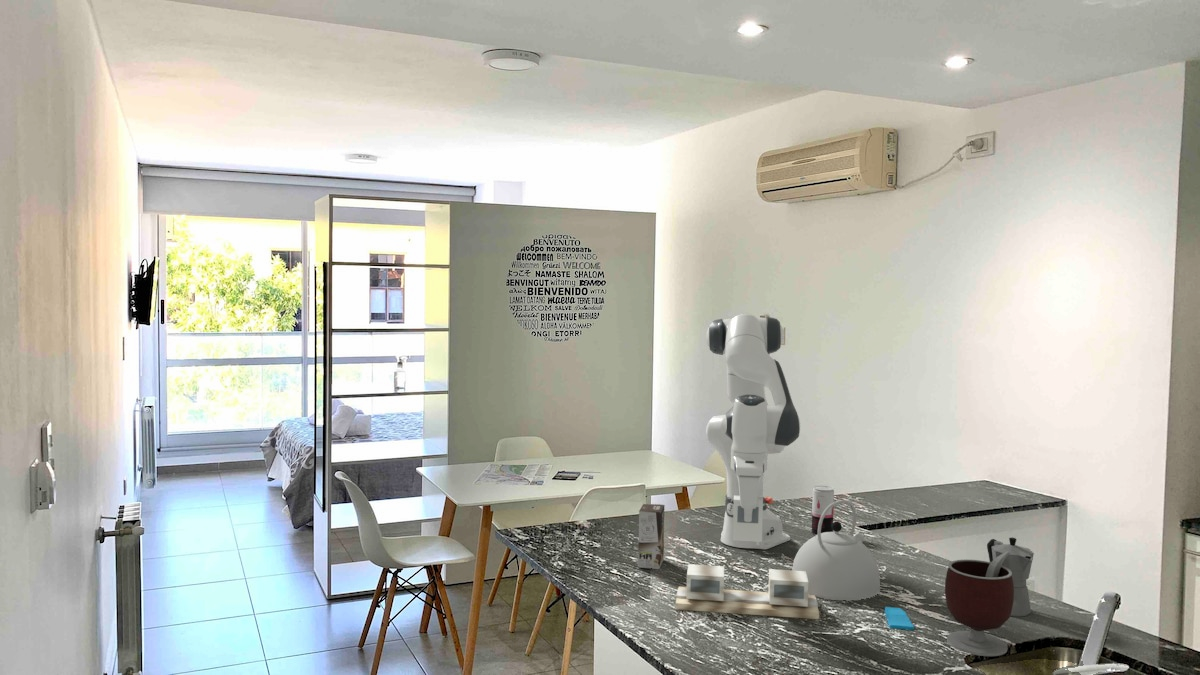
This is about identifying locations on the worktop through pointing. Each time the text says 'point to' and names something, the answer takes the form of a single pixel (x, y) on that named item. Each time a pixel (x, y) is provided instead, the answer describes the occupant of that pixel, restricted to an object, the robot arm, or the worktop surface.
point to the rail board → (747, 594)
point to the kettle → (838, 563)
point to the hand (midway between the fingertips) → (747, 517)
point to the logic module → (747, 529)
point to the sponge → (898, 618)
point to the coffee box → (651, 536)
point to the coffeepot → (1015, 571)
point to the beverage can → (822, 508)
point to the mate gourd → (979, 603)
